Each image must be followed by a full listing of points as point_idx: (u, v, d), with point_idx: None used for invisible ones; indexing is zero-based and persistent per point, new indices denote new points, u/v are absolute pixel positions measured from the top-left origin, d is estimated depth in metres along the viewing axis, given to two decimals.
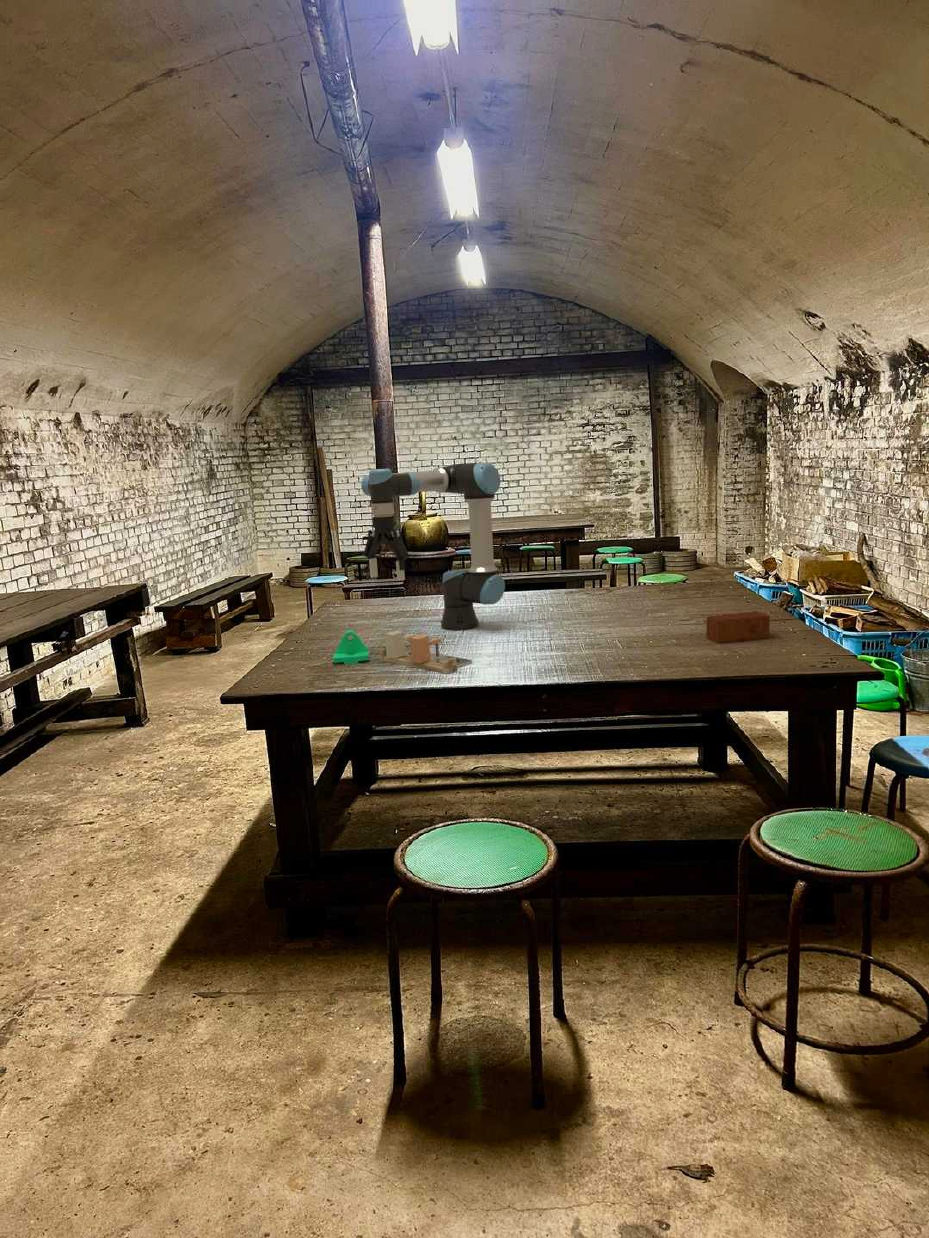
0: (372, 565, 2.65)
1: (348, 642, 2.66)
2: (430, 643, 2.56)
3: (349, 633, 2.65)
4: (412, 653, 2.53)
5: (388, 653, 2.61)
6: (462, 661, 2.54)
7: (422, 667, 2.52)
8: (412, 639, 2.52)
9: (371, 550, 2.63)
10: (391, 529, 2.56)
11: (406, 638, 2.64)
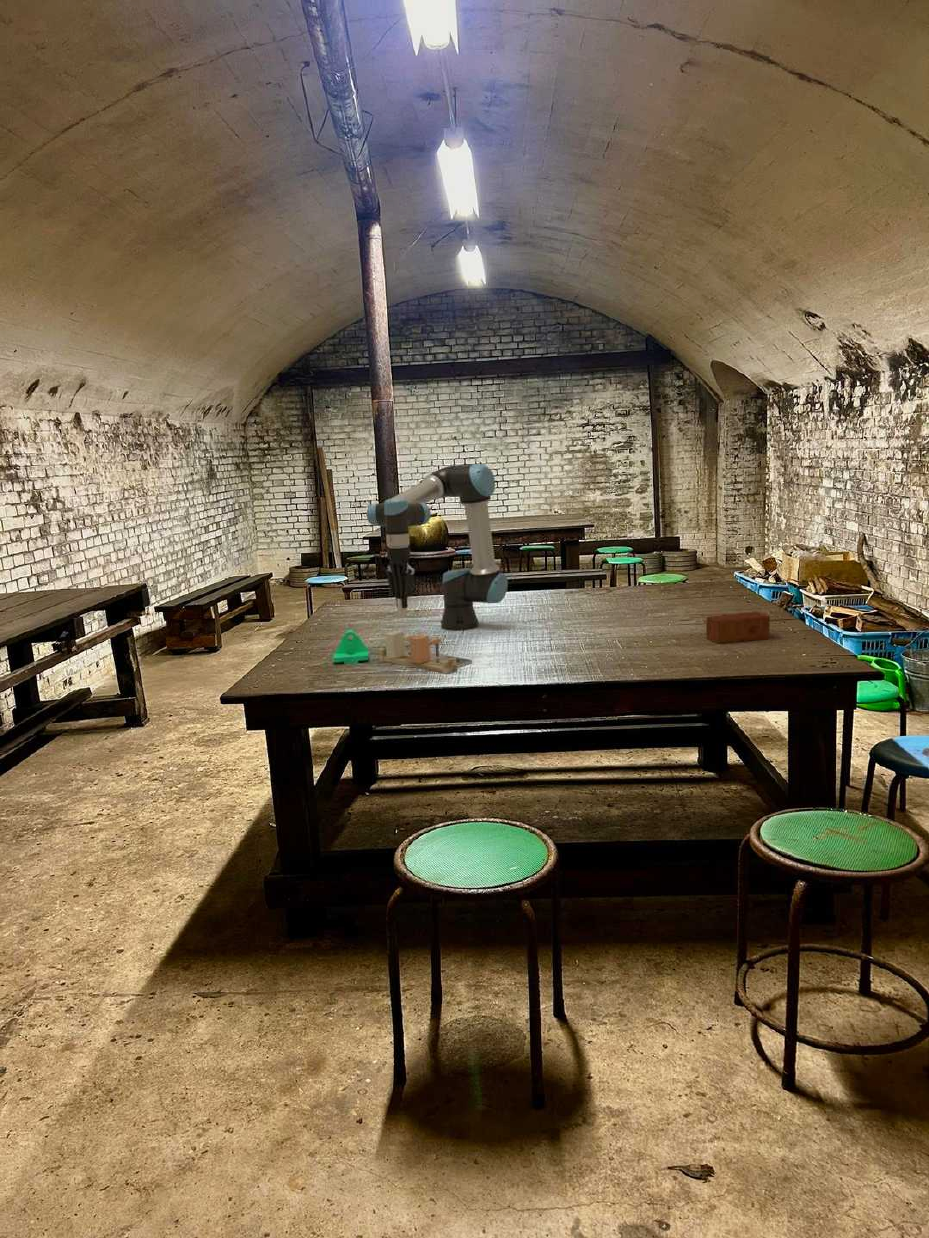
0: None
1: (348, 641, 2.66)
2: (430, 643, 2.56)
3: (349, 633, 2.65)
4: (412, 653, 2.53)
5: (388, 653, 2.61)
6: (462, 661, 2.54)
7: (422, 667, 2.52)
8: (412, 639, 2.52)
9: (395, 587, 2.54)
10: (407, 560, 2.50)
11: (406, 638, 2.64)
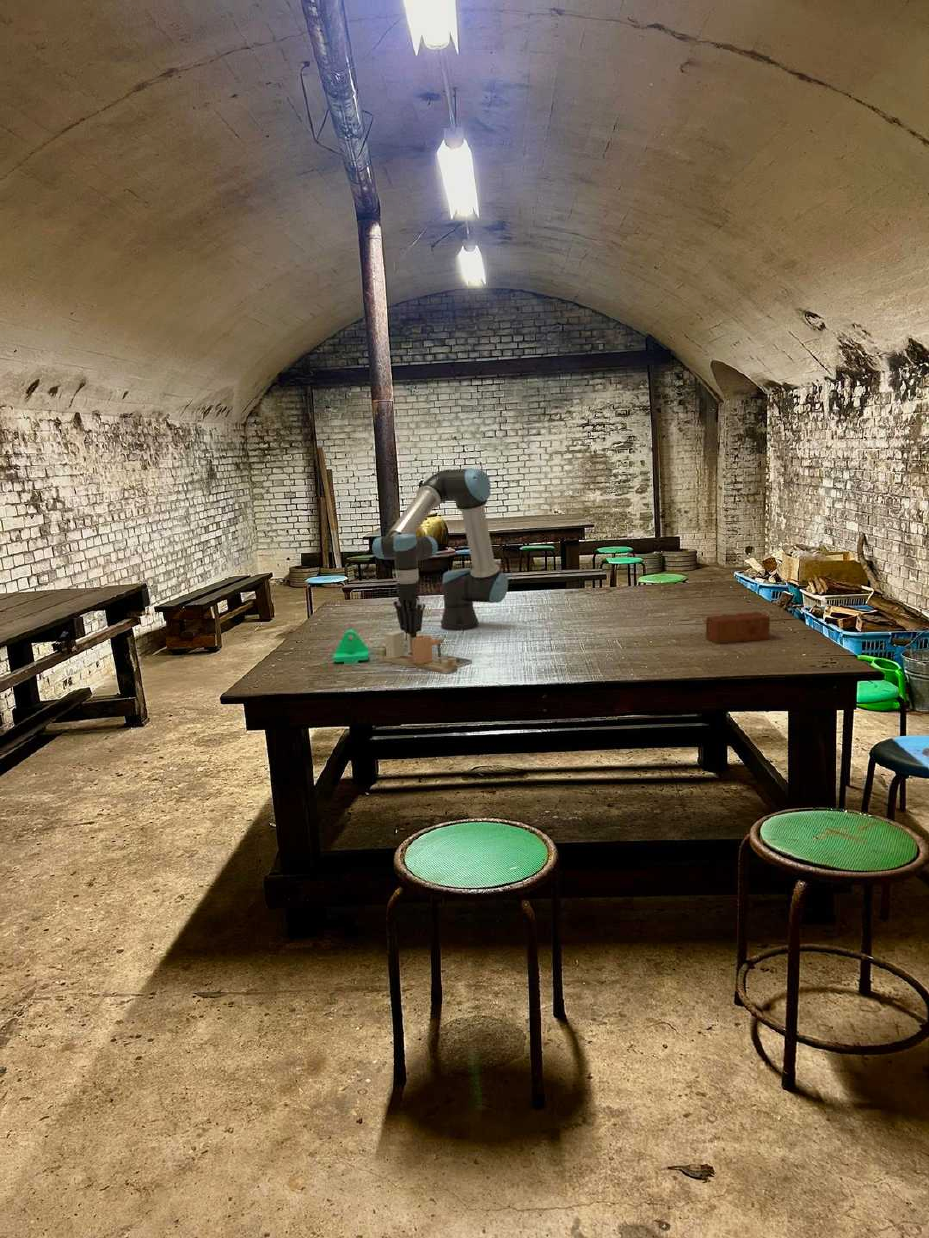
0: None
1: (348, 641, 2.66)
2: (432, 643, 2.55)
3: (349, 633, 2.66)
4: (414, 653, 2.52)
5: (388, 653, 2.61)
6: (462, 661, 2.54)
7: (422, 667, 2.52)
8: (414, 639, 2.51)
9: (404, 622, 2.54)
10: (416, 596, 2.50)
11: None
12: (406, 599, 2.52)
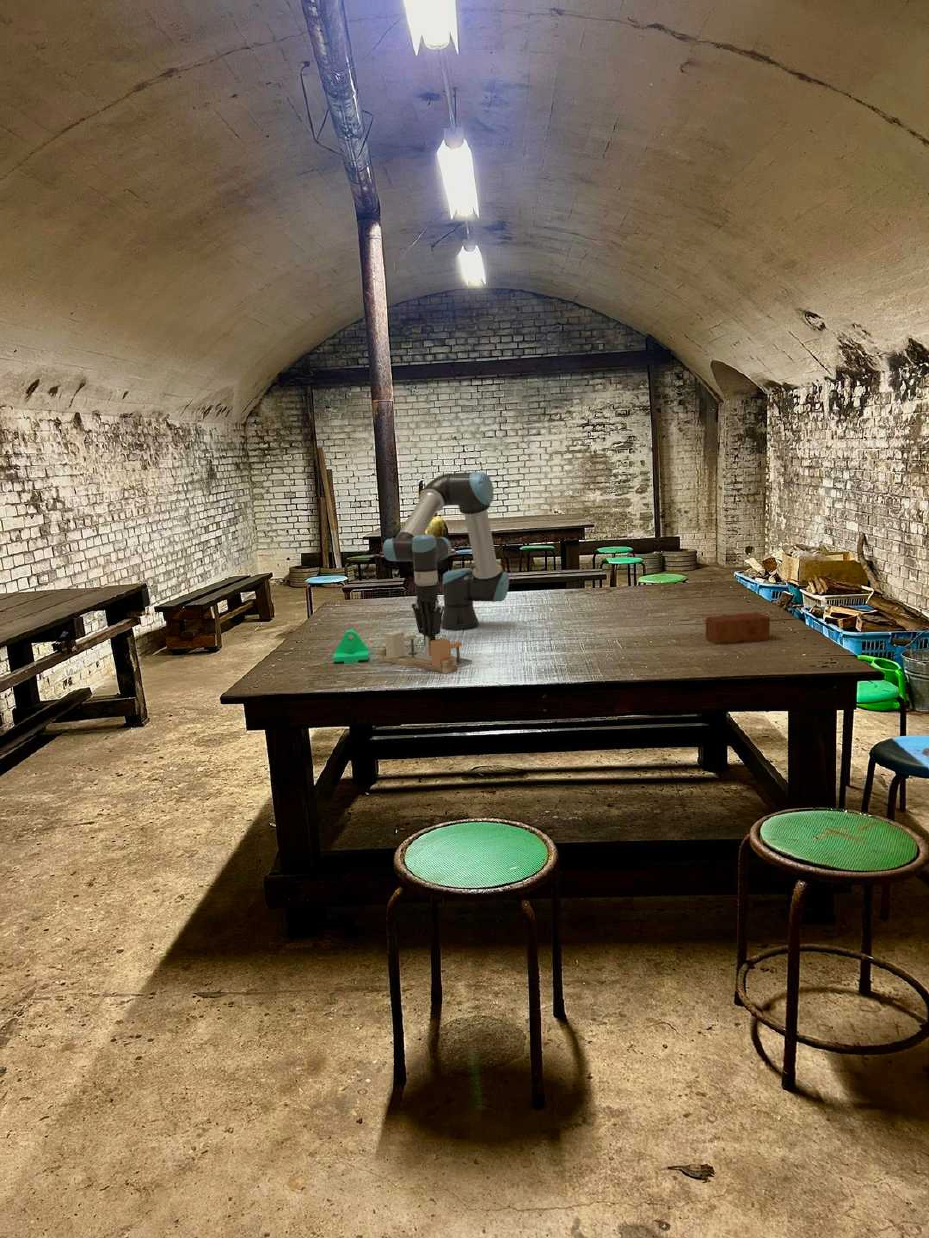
0: None
1: (348, 641, 2.67)
2: (451, 647, 2.49)
3: (349, 632, 2.66)
4: (433, 657, 2.46)
5: (388, 653, 2.61)
6: (462, 661, 2.54)
7: (422, 667, 2.52)
8: (433, 643, 2.45)
9: (423, 625, 2.49)
10: (435, 598, 2.44)
11: (406, 638, 2.64)
12: (425, 601, 2.46)
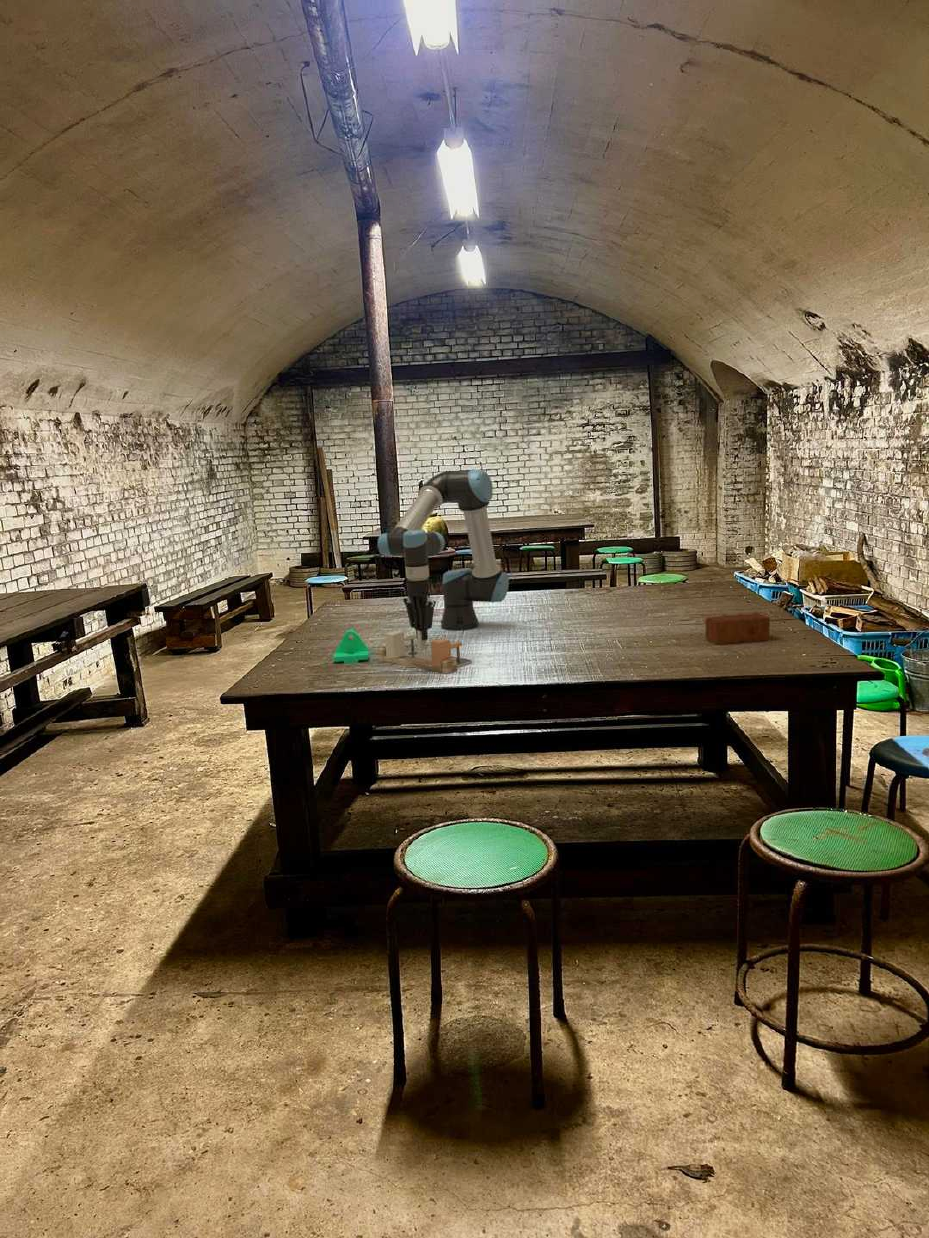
0: None
1: (348, 641, 2.67)
2: (451, 647, 2.49)
3: (349, 632, 2.66)
4: (433, 657, 2.46)
5: (388, 653, 2.61)
6: (462, 661, 2.54)
7: (422, 667, 2.52)
8: (433, 643, 2.45)
9: (415, 619, 2.51)
10: (426, 593, 2.47)
11: (406, 638, 2.64)
12: (416, 596, 2.49)
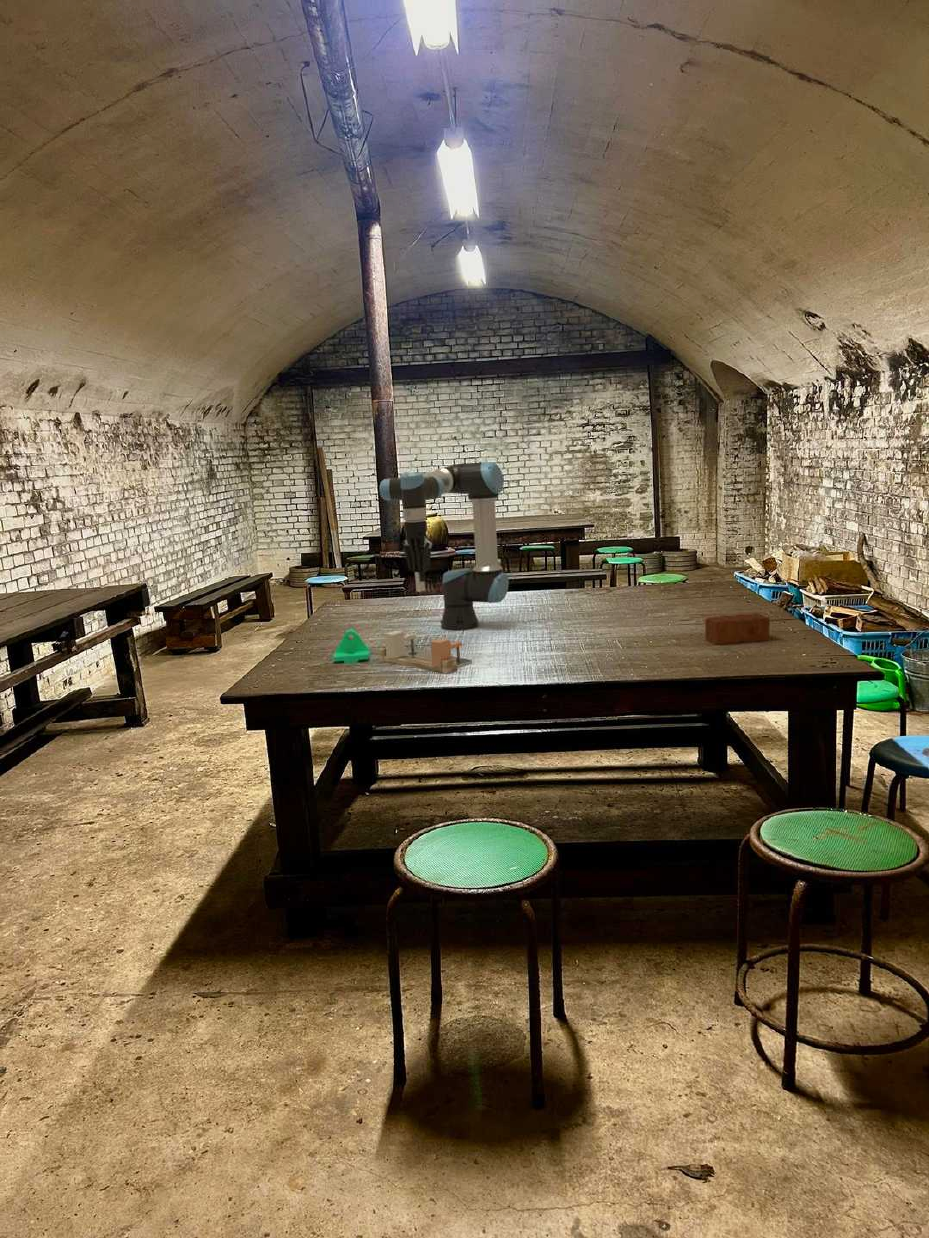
0: None
1: (349, 641, 2.67)
2: (451, 647, 2.49)
3: (349, 632, 2.66)
4: (433, 657, 2.46)
5: (388, 653, 2.61)
6: (462, 661, 2.54)
7: (422, 667, 2.52)
8: (433, 643, 2.45)
9: (413, 561, 2.57)
10: (424, 534, 2.52)
11: (406, 638, 2.64)
12: (414, 538, 2.54)
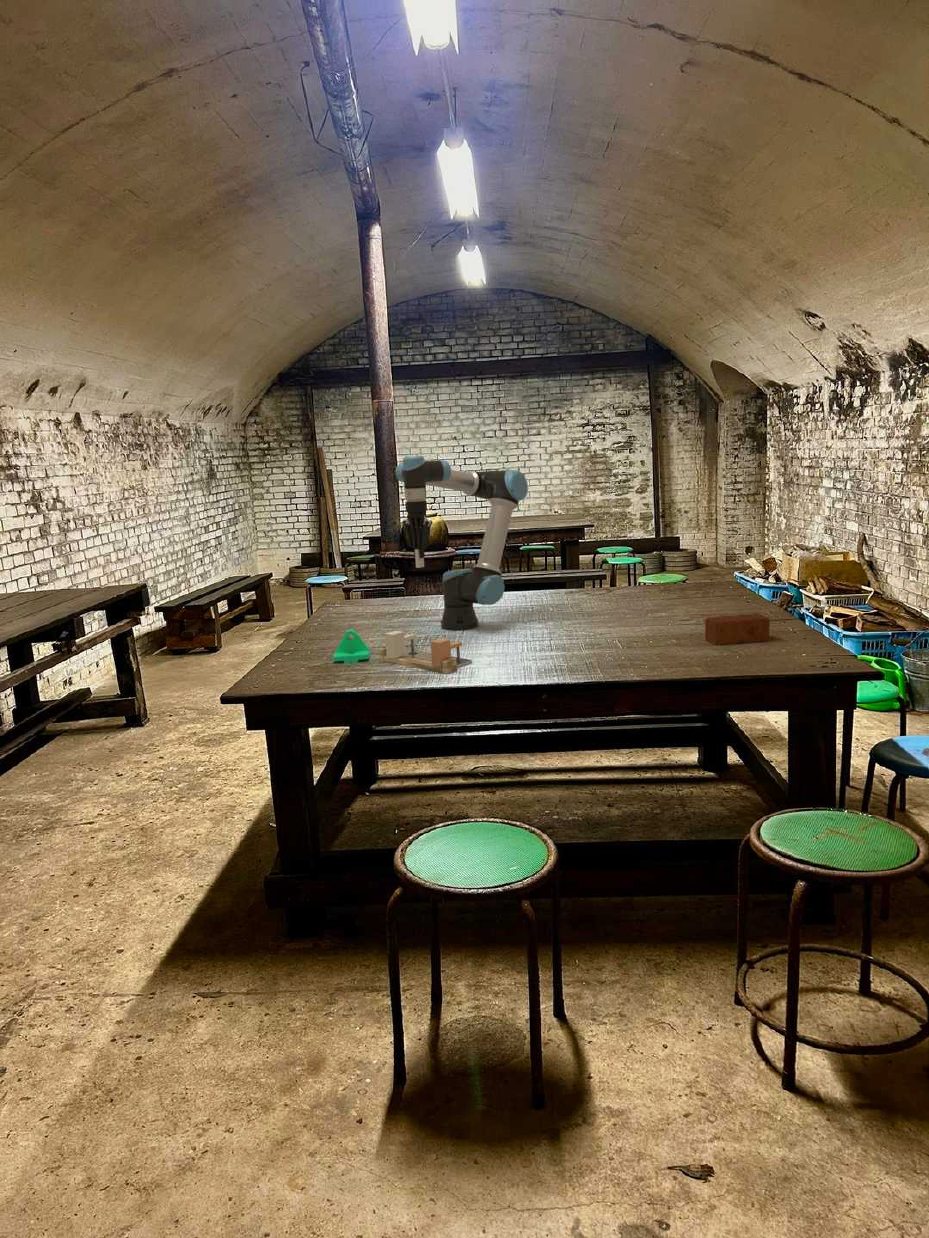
0: None
1: (349, 640, 2.67)
2: (451, 647, 2.49)
3: (349, 632, 2.67)
4: (433, 657, 2.46)
5: (388, 653, 2.61)
6: (462, 661, 2.54)
7: (422, 667, 2.52)
8: (433, 643, 2.45)
9: (413, 539, 2.73)
10: (424, 513, 2.69)
11: (406, 638, 2.64)
12: (414, 517, 2.71)
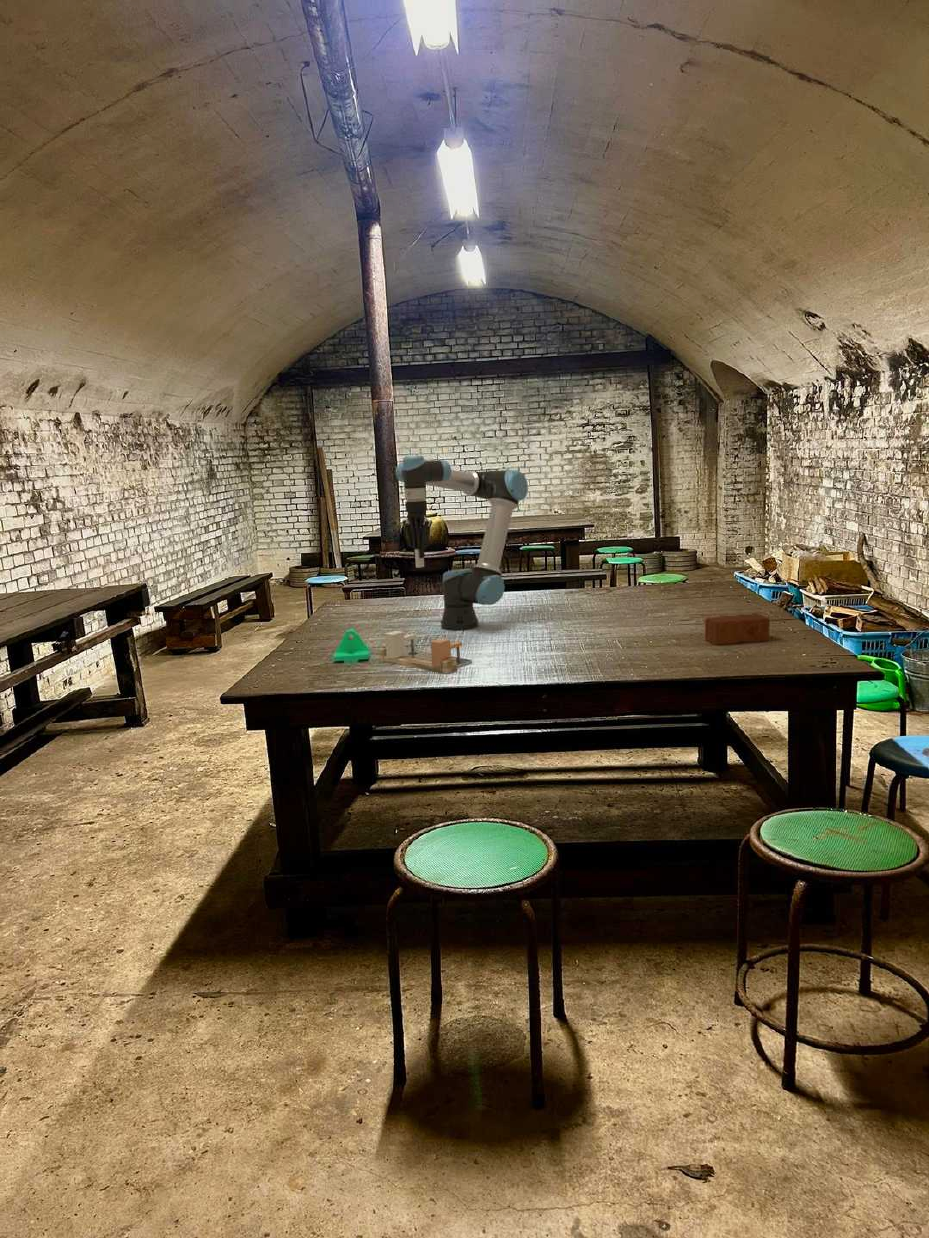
0: None
1: (349, 640, 2.67)
2: (451, 647, 2.49)
3: (349, 632, 2.67)
4: (433, 657, 2.46)
5: (388, 653, 2.61)
6: (462, 661, 2.54)
7: (422, 667, 2.52)
8: (433, 643, 2.45)
9: (413, 538, 2.73)
10: (424, 513, 2.69)
11: (406, 638, 2.64)
12: (414, 517, 2.71)
